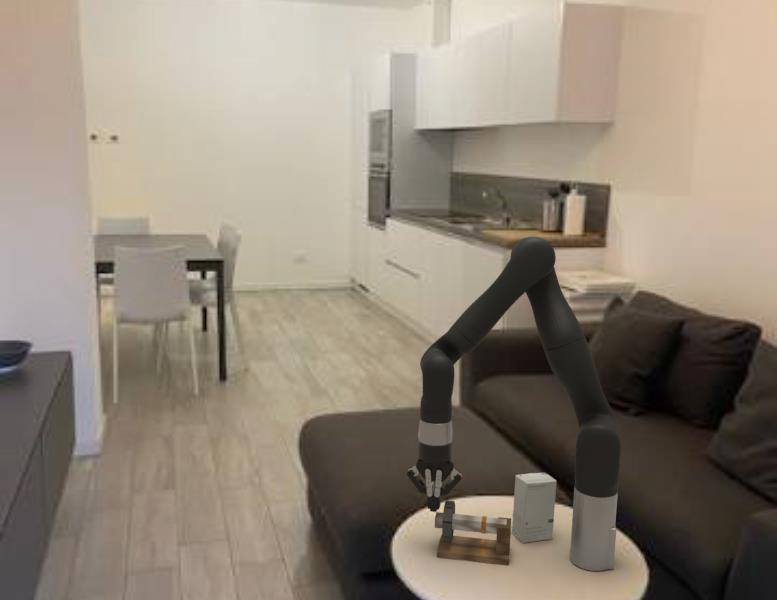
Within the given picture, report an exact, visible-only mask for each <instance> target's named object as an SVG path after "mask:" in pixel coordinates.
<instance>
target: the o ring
mask: <svg viewBox="0 0 777 600" xmlns="http://www.w3.org/2000/svg"><path fill="white" fill-rule="evenodd" d="M442 513H443V520H442V521H443V523H442V528H441V534H442V540H443V542H452V539H453V536H454V533H455V532H454V531H455V530H452V519H453V514H456V501H455V500H448V499H447V500H445V501H444V505H443V512H442Z"/></svg>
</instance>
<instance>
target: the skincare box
mask: <svg viewBox="0 0 777 600" xmlns="http://www.w3.org/2000/svg"><path fill="white" fill-rule="evenodd" d="M514 477H515V478H514V479H515V481H514V495H513V508H512V509H513V510H512V521H511V532H512V533H511V534H513V535H514V536H515V537H516V538H517V539H518V540H519V541H520V542H521V543H522V544H526V543H531V542H538V541H546V540H548V541H549V540H552V539H553V532H554V522H555V521H554V520H555V519H554V518H555V507H556V493H557V479H555V478H553V476H551V475H549V474H548V473H546V472H537V473H536V472H530V473H525V474H524V473H522V474H516V475H515V476H514Z"/></svg>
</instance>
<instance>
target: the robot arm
mask: <svg viewBox="0 0 777 600" xmlns="http://www.w3.org/2000/svg"><path fill="white" fill-rule="evenodd" d="M556 258H557V257H556V251H555V249H554V247H553V245H552V244H551V242H549V241H548V240H546V239H544V238H542V237H539V236H528V237H523V238H521V239H520V240H518V241H517V242H516V243H515V244H514V245H513V247H512V249H511V252H510V259H509V261H508V262H507V263H506V264H505V266H504V269H502V271H501V272H500V274H499V275H498V277H497V278H496V279H495V280H494V281H493V282H492V284H491V285H489V287H488V288H486V290H485V291H484V292H483V293H482V294H481V295H480V296H478V297H477V298H476V299H475V300H474V301H473V302H472V303H471V304H470V305H469V306H468V307H467V308H466V309H465V311H463V312H462V313H461V315H459V317H458V318H457V319H456V320H455V322H454V323H453V324H452V325H451V326H450V327H449V329H448V330H447V332H445V333H444V334H442V335H441V336H440V337H439V338H438V339H437V340H436V341H434V342H433V343H432V344H431V345H430V346H429V347H428V348H427V349H426V351H424V353H423V354H422V356H421V359H420V361H419V362H420V364H419V366H420V370H421V374H422V396H421V398H420V403H419V404H420V409H419V411H420V413H419V425H418V432H417V436H418V444H417V445H418V446H417V447H418V451H417V452H418V453H417V460H416V462H415V465H414V466H412V467H408V469H407V471H406V476H407V477H408V478H409V480H410V481H411V483H412V484H413V485H414V487H415V488H416V489H417V491H418V492H419V493H420V494H425V495H426V496H427V500H426V502H427V504H426V506H427V509H428V510H429V512H433V513H436V512H438V511H439V510H440V508H441V501H442V500H441V498H442V497H441V496H447V495H449V493H450V492H451V491H452V490H453V489H454V488H455V487H456V486H457V485H458V483H460V481H461V480H462V477H463V472H462V471H458V470H457V469H455V468H454V467H455V466H454V463H453V461H452V460H453V459H452V457H453V456H452V455H453V454H452V453H453V422H452V421H453V419H452V418H453V416H452V414H453V413H452V409H453V402H452V401H453V400H452V397H453V391H454V385H455V364H456V363H457V362H458V361H459V360H460V359H461V358H462V357H463V356H464V355H467V354H470V353H472V352H473V351H474V350H475V349H476V348H477V347H478V345H480V343H481V342H482V341H484V339H485V338H486V336H487V335H488V334H489V333H490V332H491V331H492V329H493V328H494V327H495V326H496V325H497V323H498V322H499V321H500V320H501V319H502V318H503V316H504V315H505V314H506V312H508V310H509V309H511V307H512V306H513V305H514V304H515V303H516V302H517V301H518V300H519V299H520V298H521V297H522V296H523V295H524V294H526V297H527V299H528V301H529V303H530V307H531V310H532V313H533V317H534V318H533V319H534V322H535V325H536V329H537V333H538V337H539V339H540V342H541V345H542V348H543V352H544V353H545V356H546V360H547V361H548V365H549V366H550V368H551V371H552V373H553V374H554V376H555V378H556V379H557V381H558V382H559V384H560V385H561V387H562V388H563V389H564V391H565V392H566V394H567V395H568V398H569V399H570V402H571V405H572V407H573V410H574V413H575V416H576V419H577V424H578V434H577V437H576V442H575V443H576V444H575V456H574V457H575V458H574V460H575V461H574V488H573V490H574V491H573V505H572V518H571V519H572V520H571V522H572V523H571V535H570V548H569V553H570V554H569V560H570V561H571V563H572V564H574V565H575V566H577V567H579V568H581V569H584V570H587V571H593V572H600V571H601V572H603V571H606V570H614V567H615V566H614V565H615V564H614V563H615V551H616V538H617V526H616V518H617V507H618V495H619V481H620V480H619V475H620V466H621V463H620V462H621V454H622V453H621V451H622V444H623V431H622V428H621V426H620V423H619V422H618V420H617V417H616V416H615V414H614V412H613V410H612V408H611V405H610V404H609V401H608V400H607V398H606V395H605V393H604V390H603V388H602V385H601V381H600V378H599V375H598V374H599V373H598V371H597V368H596V364H595V360H594V358H593V355H592V352H591V349H590V345H589V344H588V343H589V342H588V341H587V337H586V335H585V333H584V331H583V328H582V327H581V325H580V322H579V320H578V318H577V316H576V315H575V313H574V311H573V310H572V307H571V306H570V305H569V303H568V301H567V299H566V298H565V296H564V293H563V290H562V288H561V286H560V283H559V280H558V275H557V272H556V269H555V265H556ZM419 474H420V475H421V477H422V478H423V479H424V481H425V482H424V481H423V479H421V477H420V476H419ZM449 476H450V480H449V481H448V482H447V483H446V484H445V486H443V487H442V485H443V482H444V481H446V479H447V478H448V477H449Z"/></svg>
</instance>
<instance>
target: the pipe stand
mask: <svg viewBox="0 0 777 600" xmlns="http://www.w3.org/2000/svg"><path fill="white" fill-rule="evenodd" d="M442 520H443V512H441V511H437V512H435V517H434V529H442V523H443V521H442ZM452 530H454V531H462V532H469V533H471V532H472V533H478V534H479V533H481V534H484V535H486V534H488V535H489V534H491V535H496V539H489V538H479V537H471V536H470V537H469V536H461V535H460V536H459V535H453V539H452V542H443V540H442V533H441V534H440V538H439V542H438V547H437V549H436V558H438V559H439V558H440V559H448V560H449V559H450V560H457V561H458V560H459V561H467V562H473V563H475V562H476V563H482V564H483V563H484V564H485V563H486V564H493V565H503V566H509V565H510V557H511V556H510V554H511V553H510V552H511V536H512V535H511V534H512V533H511V532H512V518H509V517H500V516H498V517H488V516H485V515H482V516H481V515H480V516H479V515H471V514H470V515H468V514H459V513H455V514H453V519H452Z"/></svg>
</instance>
